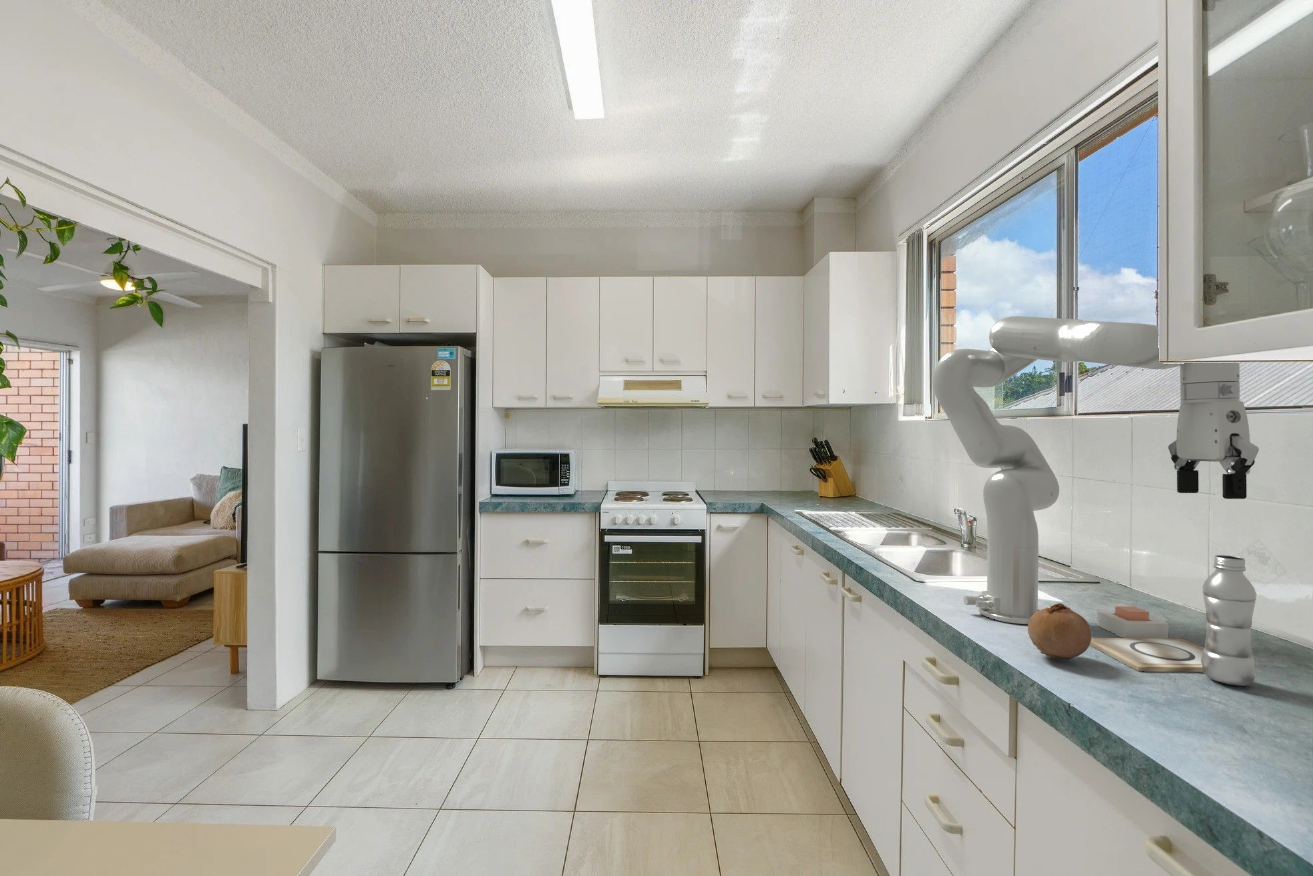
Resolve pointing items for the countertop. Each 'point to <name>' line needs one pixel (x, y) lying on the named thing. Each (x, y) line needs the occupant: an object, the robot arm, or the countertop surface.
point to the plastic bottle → (1229, 623)
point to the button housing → (1132, 626)
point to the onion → (1059, 632)
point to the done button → (1131, 613)
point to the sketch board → (1153, 653)
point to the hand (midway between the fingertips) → (1210, 495)
